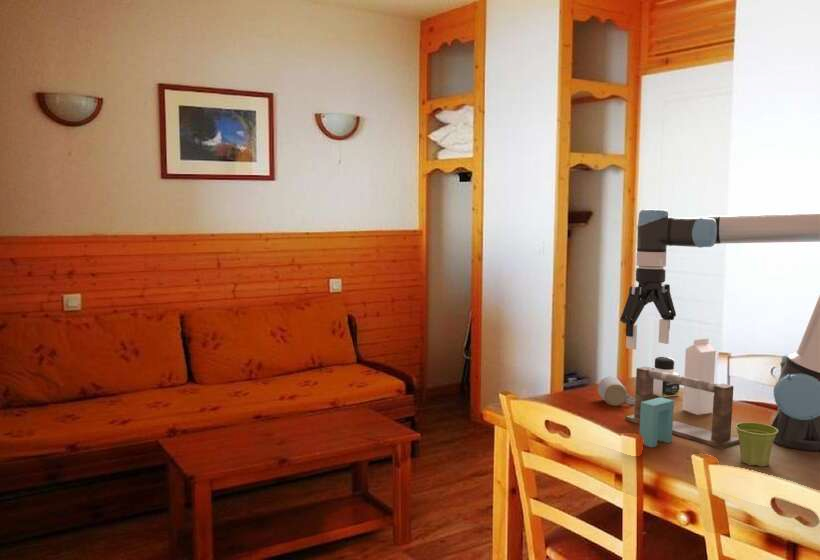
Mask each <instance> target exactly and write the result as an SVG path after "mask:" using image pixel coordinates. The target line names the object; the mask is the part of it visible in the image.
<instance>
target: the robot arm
mask: <svg viewBox="0 0 820 560" xmlns="http://www.w3.org/2000/svg"><path fill="white" fill-rule="evenodd" d="M636 228H637V237H636V238H637V239H636V240H637V241H636V243H637V245H636V247H637V248H636V264H635V265H636V266H637V267H636V269H635V282H638V286H634V285H633V286H629V292H628V297H627V299H626V301H625V305H624V307H623V310H622V314H621V317H620V319H619V321H620V322H621V323H622V324H625V339H626V342H625V348H626V349H631V350H637V337H638V336H637V335H638V333H637V332H638V325H637V324H636V322H637V321H638V318H639V317H640V315H641V313H642V311H643V310H644V308H645V306H646V305H648V304H649V303H652V302H653V304H654V306H655V307H656V310H657V311H658V313H659V315H660V317H661V318H659V322H658V343H660V344H665V345H668V344H669V342H670V341H669V340H670V339H669V338H670V329H671V327H670V326H671V321H674V319H675V317H676V315H677V313H676V309H675V307H674V306H675V305H674V302H673V299H672V294H671V288H670V284H668V283H665V281H666V270H667V269H665V267H666V266H667V246H669V247H672V246H673V247H674V246H675V247H693V248H711V247H713V246H715V245H719V244H760V243H761V244H762V243H764V244H766V243H767V244H768V243H769V244H770V243H771V244H772V243H773V244H774V243H811V242H813V243H815V242H816V243H817V242H820V211H810V212H809V211H807V212H806V211H805V212H803V211H802V212H783V213H760V214H759V213H757V214H736V215H735V214H732V215H708V216H706V215H700V216H699V215H698V216H696V217H695V216H694V217H693V216H692V217H673V216H670V215H669V212H668V210H667V209H654V208H652V209H649V208H648V209H646V208H645V209H642V210H640V211H639V213H638V220H637V226H636ZM779 365H780V375H779V377H778V380H777V382H776V383H775V385H774V387H773V398H774V401H775V404H776V406H777V407H778V408H777V411H776V414H775V416H774V418H773V420H772V423H771V425H770V426H773V427H775V428H777V429H778V433H777V434H776V437H775V439H774V441H773V443H775V444H778V445H779V446H783V447H786V448H790V449H795V450H801V451H808V452H809V451H810V452H811V451H812V452H820V451H819V450H820V295H819V297H818V298H817V301H816V303H815V306H814V309H813V311H812V314H811V316H810V319H809V321H808V323H807V326H806V329H805V331H804V334H803V336H802V339H801V341H800V343H799V347H798V348H797V350H796V351H795V352H792V353H789V354H783V356H782V357H781V362H780V363H779Z"/></svg>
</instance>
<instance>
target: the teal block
mask: <svg viewBox="0 0 820 560" xmlns="http://www.w3.org/2000/svg"><path fill="white" fill-rule="evenodd" d="M674 404H675V400H674V399H669V398H667V397H660V396H658V397H656V398H653V399H651V400H648V401H644V402H641V411H640V424H639V434H640V435H642V436H643V440H644V445H643V446H646V447H648V448H652V449H653V448H655V447H657V446H658V441H660V442H664V443H666V444H667V443H671V442H672V441H673V434H672V428H673V420H674ZM639 434H638V435H639Z"/></svg>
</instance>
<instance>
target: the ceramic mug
mask: <svg viewBox="0 0 820 560" xmlns="http://www.w3.org/2000/svg"><path fill="white" fill-rule="evenodd" d="M597 393H598V395H599V396H600V397H601V399H602V400H604V402H605V403H607V404H608V405H610V406H612V407H619V406H620V405H623V404H624V403H626V404H628V405H631V406H632V405H635V398H634V397H632V396H630V395H629V394H628V392H627V389H626V387H625V386H624V385H623V384H622V382H621V381H620V380H619V378H617V377H614V376H606V377H604V378H602V379H601V380H600V381H599V383H598V385H597Z"/></svg>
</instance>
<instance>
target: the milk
mask: <svg viewBox="0 0 820 560" xmlns="http://www.w3.org/2000/svg"><path fill="white" fill-rule="evenodd" d="M709 340H710V339H709V338H701V339H700V338H699V339H694V340H693V344H692V345H690V346H689V347H687V348H685V357H684V374H683V375H684V376H683V377H688V378H692V379H697V380H701V381H705V382H710V383H714V384H715V369H716V355H717V354H716V350H715V348H713V347H712V346H711V344H709ZM682 393H683V395H682V396H683V398H682V411H684V412H688V413H690V414H693V415H696V416H700V415H701V416H702V415H706V414H707V415H708V414H713V400H714V393H713V392H708V391H704V390H700V389H696V388H691V387H687V386H683V392H682Z"/></svg>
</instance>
